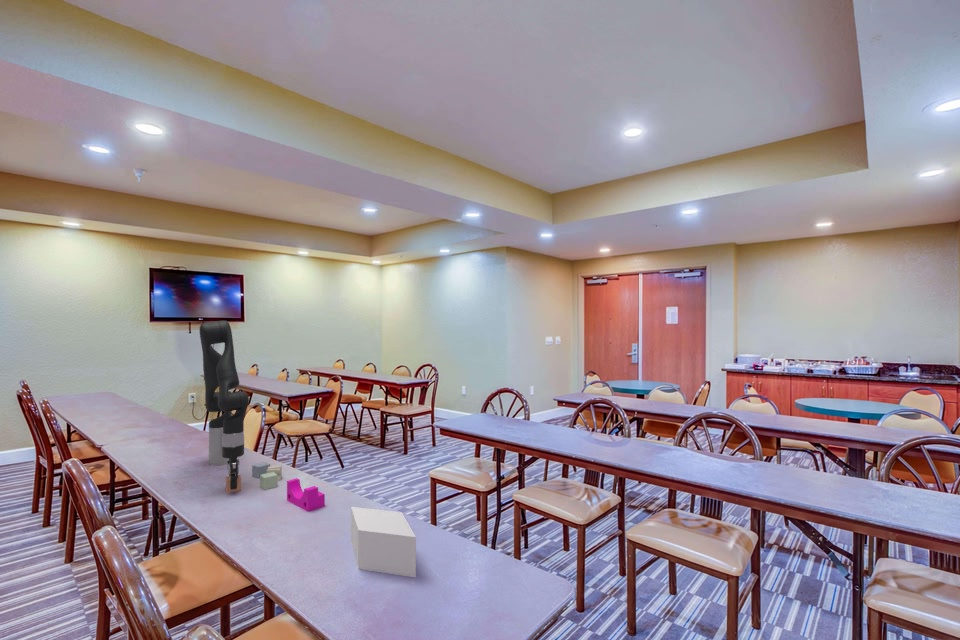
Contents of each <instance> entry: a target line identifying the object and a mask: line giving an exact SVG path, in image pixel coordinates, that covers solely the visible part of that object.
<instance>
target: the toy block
mask: <svg viewBox="0 0 960 640" xmlns="http://www.w3.org/2000/svg"><path fill="white" fill-rule="evenodd" d="M325 500H326V498H325V493H323V492H320V491H319V487H317V486H315V485H313V486H308V487H306V488H304V489H302V486H301V480H300V479H299V478H297V477H296V478H292V479H289V480H286V501H287V502H289V503H291V504H293V505H295V506H296V507H298V508H300V509H302V510H303V511H305V512H311V511H314V510H317V509H320V508H322V507H325V505H326V504H325V503H326V501H325Z"/></svg>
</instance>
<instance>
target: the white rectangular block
mask: <svg viewBox="0 0 960 640" xmlns="http://www.w3.org/2000/svg"><path fill="white" fill-rule="evenodd" d="M350 543H351V547H352V550H353V554H354V557H355V561H356V562H355V563H356V566H357V569H358V570H363V571H364V570H365V571H371V572H376V573H381V574H382V573H384V574H390V575H396V576H402V577H403V576H404V577H410V578H417V536H416V535H415V532H413V530H412V528H411V526H410V524H409V523H408V521H407V519H406V518H405V516H404V514H403V512H401V511H394V510H382V509H377V508H365V507H357V506H356V507H355V506H351V507H350Z"/></svg>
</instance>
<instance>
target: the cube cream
mask: <svg viewBox="0 0 960 640" xmlns="http://www.w3.org/2000/svg"><path fill="white" fill-rule="evenodd" d="M282 469H283V468H282V465H273V466H270V467H268V469H267V473H271V472H274V473H275V474H277V475H278V482H280V481H281V480H282Z"/></svg>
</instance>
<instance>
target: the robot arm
mask: <svg viewBox="0 0 960 640" xmlns="http://www.w3.org/2000/svg"><path fill="white" fill-rule="evenodd" d="M199 339H200V344H201V349H202V361H203V362H202V367H203V368H202V369H203V376H204V377H203V378H204V386H205V387H204V389H205V398H204V401H205V402H204V403H205V409H206V411H207V412H208V413H209V412H210V413H218V412H219V413H220V412H224V413H223V414H222V415H220V416H218V417H216V418H212V419H211V420H209V422H208V465H209V466H212V467H215V466H216V467H217V466H224V465H227V470H228V477H229V476H230V489H231V490H233V489H237V479H238V475H239V472H240V469H239V468H240V467H239V466H240V461H239V460H240V459H238V458H239V457H242V456H244V454H245V432H244V431H245V429H244V428H245V427H244V423H245V422H244V420H245V417H246V413H247V410H248V407H249V403H250V397H249V395H248V394H247V392H245V391H234V392H231V391H230V390H233V389H236V388H237V387H238V386H239V385H240V379H239V375H238V371H237V367H236V366H237V365H236V361H235V347H234V339H233V332H232V328H231V325H230V323H229V322H228V321H227V320H216V321H207V322H203V323H201V324H200V325H199ZM223 343H224V349H223V352H222V354H221V353H219V352H218V351H217V350H216V349H215V348H214V347H213V346H212V345H216V344H223ZM217 388H218V391H216V390H217ZM233 411H234V413H233Z"/></svg>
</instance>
